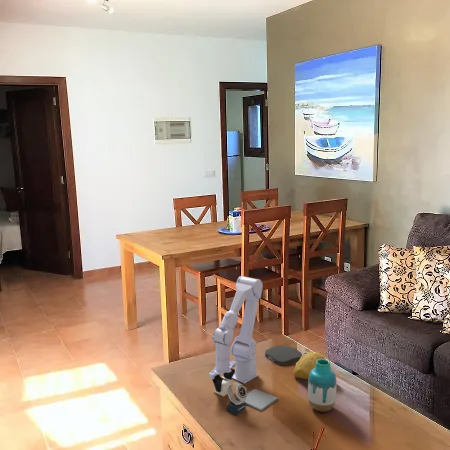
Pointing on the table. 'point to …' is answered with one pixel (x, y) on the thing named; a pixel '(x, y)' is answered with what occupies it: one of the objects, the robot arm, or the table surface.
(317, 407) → the vase
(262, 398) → the mat
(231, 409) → the watch
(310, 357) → the decorative stone
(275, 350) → the media streaming box
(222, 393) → the letter cube
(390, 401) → the table surface
